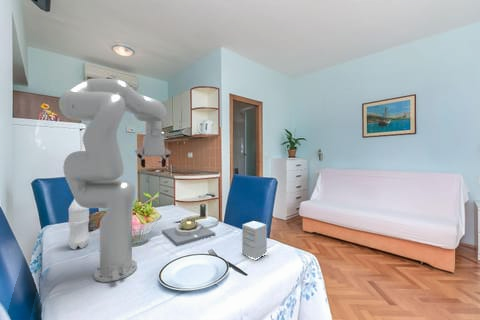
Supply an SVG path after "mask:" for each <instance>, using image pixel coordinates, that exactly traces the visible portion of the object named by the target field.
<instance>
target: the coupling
mask: <svg viewBox="0 0 480 320" xmlns="http://www.w3.org/2000/svg"><path fill="white" fill-rule="evenodd" d="M206 214H207V204H204V203H201V204H199V215H196V216H190V217H186V218H185V219H182V220H181V224H178V226H179V228H182V230H185V231H189V230H194V229H195V225H198V223H199V222H197V221H199V220H205V219H207V215H206Z"/></svg>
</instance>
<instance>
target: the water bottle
mask: <svg viewBox="0 0 480 320" xmlns="http://www.w3.org/2000/svg"><path fill="white" fill-rule="evenodd" d="M89 215H90V208H84V207H81V206H80V205H78V203H77V202H76V200H75V198H74V197H73V200H72V201H71V204H70V205H69V207H68V226H69V237H68V245H69V247H70V248H71V250H77V248H78V247H79V249H83V248H85V247H86V246H88V244H89V242H90V233H89V230H88V223H89Z"/></svg>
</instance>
